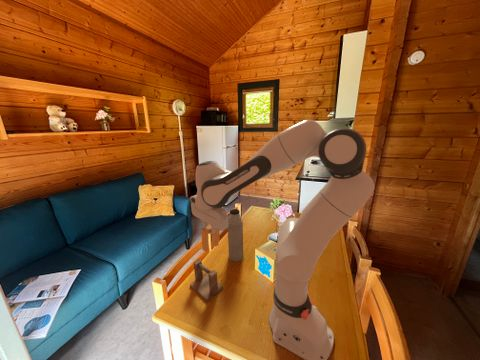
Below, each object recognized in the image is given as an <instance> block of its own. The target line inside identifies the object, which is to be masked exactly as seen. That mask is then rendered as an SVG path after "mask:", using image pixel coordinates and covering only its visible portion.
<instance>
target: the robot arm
mask: <svg viewBox="0 0 480 360" xmlns="http://www.w3.org/2000/svg"><path fill="white" fill-rule="evenodd" d="M366 155H367V143H366V141H365V139H364V137H363V136H362V135H361V134H360V133H359V132H358V131H357V130H355V129H352V128H348V127H347V128H346V127H340V128H336V129H333V130H331V131H329V132H326V131H325V130H324V129H323V127H322V126H321V124H319V123H318V122H317V121H315V120H313V119H305V120H302V121H300V122H298V123H296V124H294V125H292V126H290V127H288V128H286V129H283V131H282V130H281V132H279V133H278V134H277V135H275V136H273V137H272V138H271V139H270V140H268V141H267V142H266V143H265V144H264V145H263V146H262V147H261V148H259V150H258V151H256V153H254V154H253V155H252V156H251V158H249V159H248V160H247V161H246V162H245V163H243V164H242V165H241V166H239V167H237V168H236V169H234V170H233V171H232V170H229V169H227V168H224V167H223V166H221V165H220V164H219V163H218V162H216V161H213V160H209V161H204V162H201V163H198V164H197V166H196V167H195V168H196V169H195V186H196V189H197V191H196V194H194V195H191V196H190V197H189V201H190V207H191V213H192V215H193V216H194V217H196V218H198V219H199V220H201V221H202V222H201V223H202V224H203V228H205V227H207V226H209V225H211V227H212V229H210V233H209V234H211V235H212V234H214V233H215V229H216V228H217V229H218V231H220V232H222V231H224V230H227V229H228V226H229V224H228V218H229V215H228V212H227V210H225V207H224V206H225V205H226V204H227V203H228V202H229V201H230V200H232V198H234V197H235V196H237V195H238V193H240V191H242V190H243V189H245V188H246V187H248V186H250V185H251V184H253V183H255V182H257V181H259V180H261V179H265V178H267V177H269V176H272V175H275V174H278V173H281V172H283V171H285V170H288V169H291V168H292V167H294V166H297V164H300V163H301V162H303V161H305V160H307V159H309V158H314V157H316V158H319V160H320V162H321V164H322V165H323V167H325V169H326V170H327V172H328V174H329V175H330V178H329V179H328V181H327V182H326V183H325V184H324V186H323V187H322V188H321V189H320V191H319V190H318V192H317V193H316V194H315V196H313V198H312V199H311V200H310V202H308V203H307V205H305V207H304V208H303V210H302V211H301V213H300V216H299V217H289V218H287V219H285V220H284V221H282V223H281V225H280V227H279V229H278V231H277V232H278V234H277V242H276V254H275V260H276V264H275V265H276V267H275V282H274V283H275V284H274V288H273V305H272V309H271V311H270V313H269V318H268V321H269V325H270V326H269V327H270V329H271V330H272V340H273V342H274V343H276V344H277V345H279V346H281V347H282V348H285V349H286V350H288V351H289V352H291V353H293V354H295V355H296V356H298V357H299V358H302V359H303V360H328V358H329V357H330V355H331V354H332V351H333V348H334V342H335V341H334V339H335V336H334V332H333V329H331V328H330V327H329V326H328V325H327V321H326V319H325V317H324V316H323V315H322V314H321V313H320V311H319V309H318V307H317V306H315V305H314V300H315V299H314V298H313V299H312V300H311V299H310V296H309V293H308V292H309V285H310V284H309V282H310V279H311V278H312V277H313V274H314V271H315V267H316V265H317V263H318V260H319V259H320V257H321V256H322V254H323V253H324V251H325V249H326V248H327V246H328V245H329V243H330V241H332V239H333V237H334V236H335V235H336V234H337V233H339V231H340V230H341V229H342V228H343V227H344V226H345V225H346V224H347V223H348V222H349V221H350V220H351V219H352V218H353V217H354V216H356V214H357V213H358V212H360V210H361V209H362V208H363V207H364V206H365V204H366V203H367V202H368V200H369V199H370V198H371V196H372V195H373V193H374V191H375V189H376V188H375V187H376V186H375V182H374V180H373V178H372V177H371V176H370V175H369V174H368V173H367V172H365V171H364V170H363V168H364V163H365V158H366Z"/></svg>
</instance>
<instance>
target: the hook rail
mask: <svg viewBox="0 0 480 360" xmlns="http://www.w3.org/2000/svg"><path fill="white" fill-rule="evenodd" d="M193 268H194V269H193V270H194V279H195V280H193V281H192V282H191V283H190V284H189V286H190V287H191V288H192V289H193V290H194V291H196V293H197V294H198V295H199V296H201V297H202V298H203V299H204V300H205V301H206V302H209V301H210V300H211V299H212V298H214V297H215V296H216V295H217V294H218V293H220V292H221V291H222V290H223V289H224V286H223V285H222V284H221V283H219V281H218V272H217V271H216V270H215V269H212V270H210V269H209V268H207V267H206V266H205V265H203V263H202V260H201V259H200V258H198V259H197V260H195V261H193ZM203 272H204V273H203Z"/></svg>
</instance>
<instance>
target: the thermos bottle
mask: <svg viewBox="0 0 480 360" xmlns="http://www.w3.org/2000/svg"><path fill="white" fill-rule="evenodd" d="M228 224H229V226H228V228H227V240H228V241H227V242H228V243H227V244H228V259H229V260H230V261H231V262H240V261H241V260H243V259H244V227H243V226H244V225H243V224H244V221H243V217H242V215H241V214H240V210H239V209H237V208H233V209H230V210H229V215H228Z"/></svg>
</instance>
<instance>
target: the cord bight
mask: <svg viewBox="0 0 480 360" xmlns="http://www.w3.org/2000/svg"><path fill="white" fill-rule="evenodd" d="M208 225H209V226H207V227H205V228H204V227H203V228H201V229H200V230H201V231H200V233H201V247H202V251H204V252H205V253H208V252H209V251H210V248H209V247H210V245H209V235H210V234H211V244H212V245H213V246H214V247H218V246H219V229H217V228H216V229H215V233H214V234H212V233H210V229H212V227H211V225H210V224H208Z"/></svg>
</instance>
